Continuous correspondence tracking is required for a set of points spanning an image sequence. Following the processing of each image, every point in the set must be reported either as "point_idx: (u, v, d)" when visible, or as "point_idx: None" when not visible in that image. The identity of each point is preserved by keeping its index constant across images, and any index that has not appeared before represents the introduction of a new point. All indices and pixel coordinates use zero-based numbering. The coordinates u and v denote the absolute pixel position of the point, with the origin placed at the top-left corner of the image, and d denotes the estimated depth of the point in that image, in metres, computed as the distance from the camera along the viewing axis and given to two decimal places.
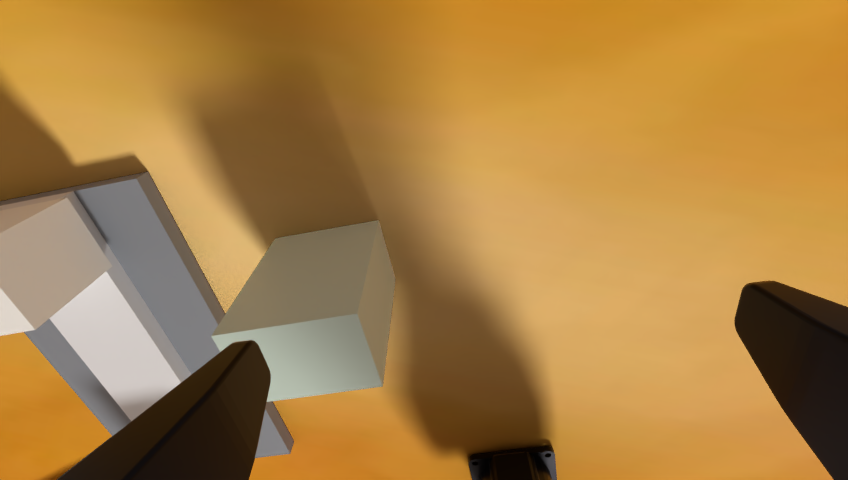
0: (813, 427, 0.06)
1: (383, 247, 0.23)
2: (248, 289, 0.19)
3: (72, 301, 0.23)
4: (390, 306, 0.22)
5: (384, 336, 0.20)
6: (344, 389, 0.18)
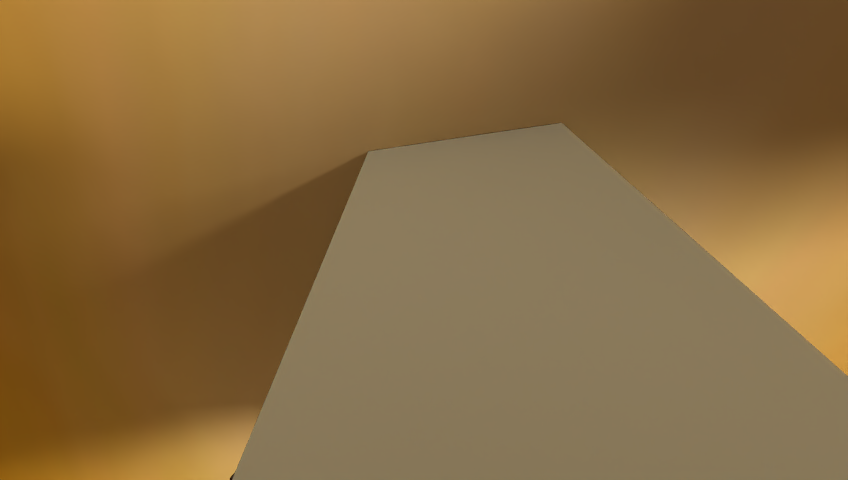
0: None
1: (430, 153, 0.08)
2: None
3: None
4: (595, 176, 0.06)
5: (664, 285, 0.04)
6: None
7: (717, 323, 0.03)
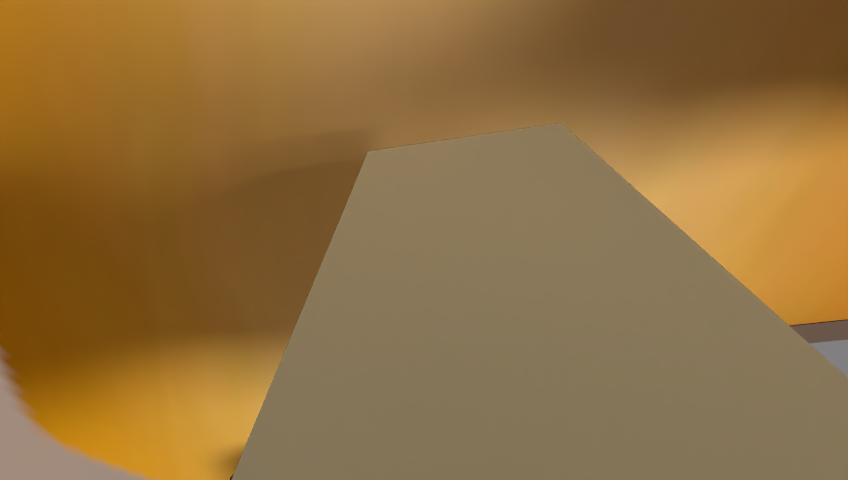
0: None
1: (430, 153, 0.08)
2: None
3: None
4: (594, 176, 0.06)
5: (662, 284, 0.04)
6: None
7: (715, 322, 0.03)
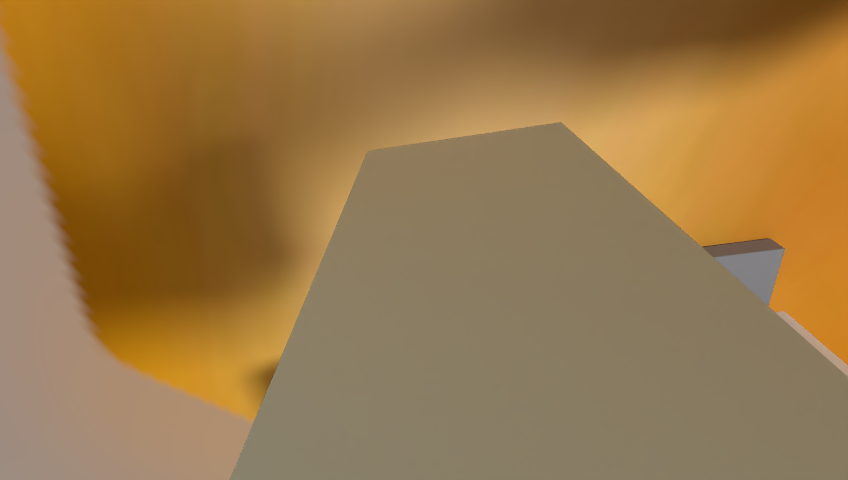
0: None
1: (430, 152, 0.08)
2: None
3: None
4: (594, 176, 0.06)
5: (662, 284, 0.04)
6: None
7: (716, 322, 0.03)
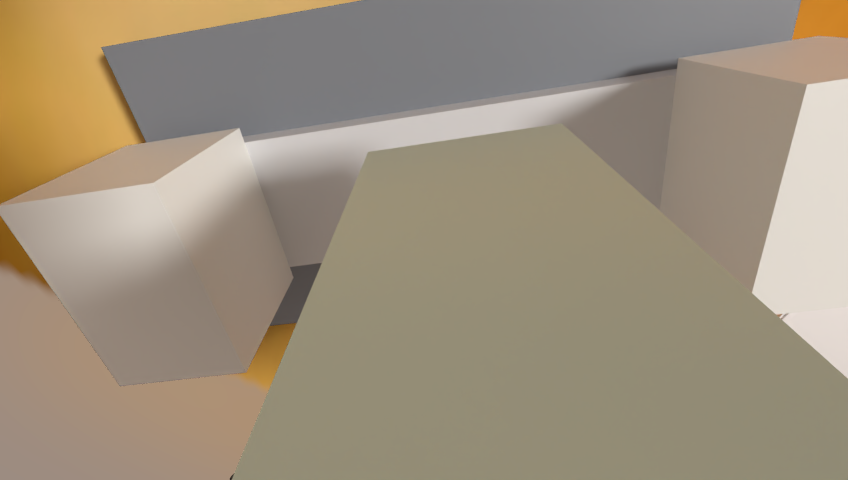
0: None
1: (430, 154, 0.08)
2: None
3: (317, 214, 0.16)
4: (595, 177, 0.06)
5: (664, 287, 0.04)
6: None
7: (717, 325, 0.03)
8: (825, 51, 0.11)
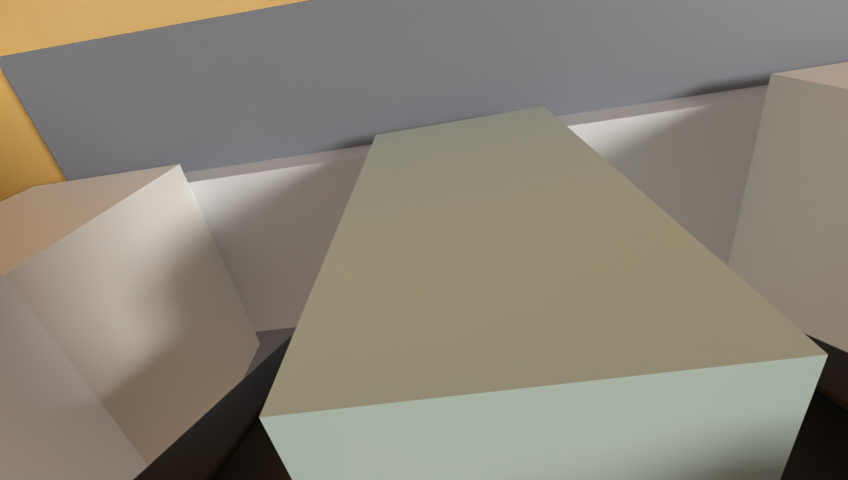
0: None
1: (430, 134, 0.09)
2: None
3: (287, 271, 0.12)
4: (565, 145, 0.07)
5: (603, 213, 0.05)
6: None
7: (635, 232, 0.05)
8: None
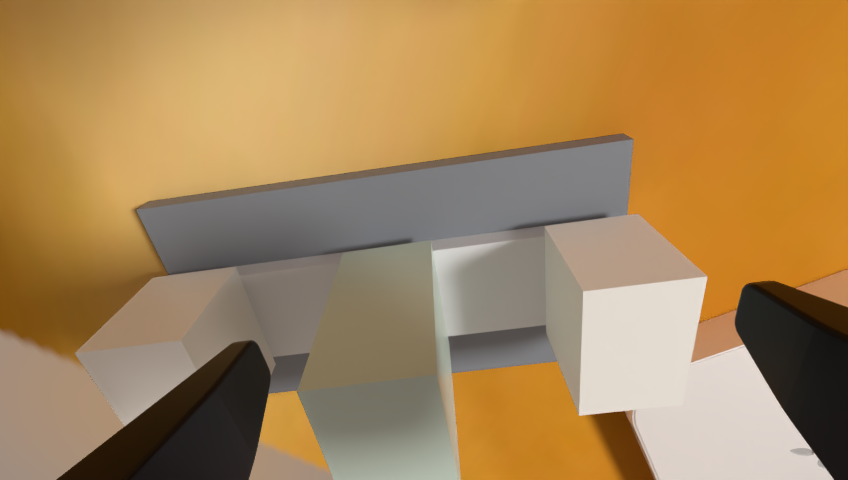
0: (813, 426, 0.06)
1: (369, 257, 0.18)
2: None
3: (293, 322, 0.21)
4: (424, 277, 0.16)
5: (416, 321, 0.14)
6: (441, 415, 0.12)
7: (420, 331, 0.13)
8: (623, 243, 0.16)
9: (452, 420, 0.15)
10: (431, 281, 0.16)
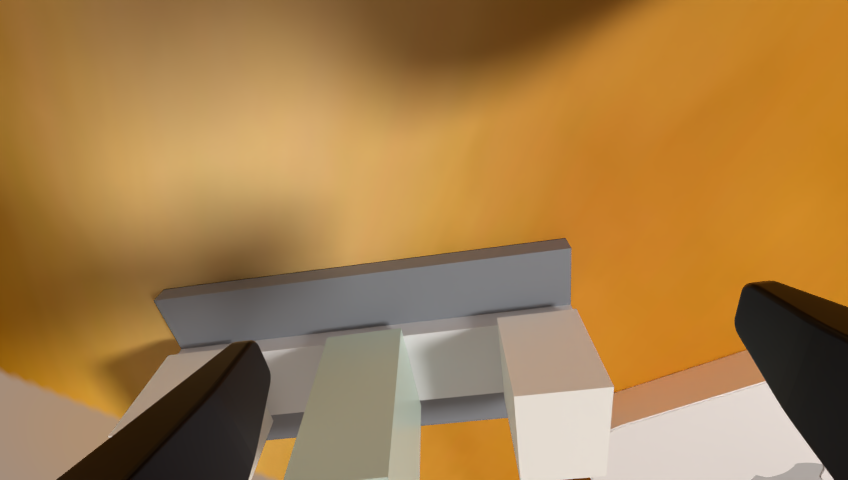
0: (813, 427, 0.06)
1: (348, 344, 0.22)
2: None
3: (287, 388, 0.24)
4: (390, 371, 0.20)
5: (378, 420, 0.17)
6: None
7: (380, 431, 0.17)
8: (557, 343, 0.20)
9: None
10: (395, 376, 0.19)
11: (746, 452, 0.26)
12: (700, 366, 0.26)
